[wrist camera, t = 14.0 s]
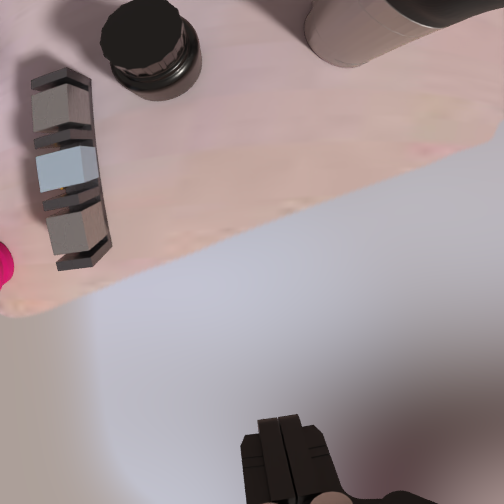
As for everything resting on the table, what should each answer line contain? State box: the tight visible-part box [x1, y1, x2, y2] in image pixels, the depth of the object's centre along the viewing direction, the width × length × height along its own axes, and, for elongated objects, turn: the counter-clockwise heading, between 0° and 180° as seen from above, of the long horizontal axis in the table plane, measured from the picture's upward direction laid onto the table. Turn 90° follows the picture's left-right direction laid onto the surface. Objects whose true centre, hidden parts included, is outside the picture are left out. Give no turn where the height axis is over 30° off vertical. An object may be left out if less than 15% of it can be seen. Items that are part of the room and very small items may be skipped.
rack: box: [31, 68, 112, 271], centre depth 30 cm, size 20×5×7 cm, turn 5°
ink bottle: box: [100, 0, 202, 101], centre depth 25 cm, size 10×9×12 cm
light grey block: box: [36, 146, 99, 193], centre depth 29 cm, size 4×5×7 cm
